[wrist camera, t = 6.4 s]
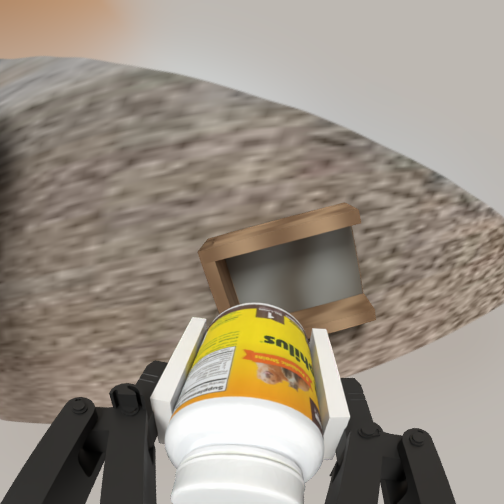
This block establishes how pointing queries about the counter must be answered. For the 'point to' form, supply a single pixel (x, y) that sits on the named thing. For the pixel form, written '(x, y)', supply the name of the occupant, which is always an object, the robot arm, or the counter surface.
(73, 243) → the counter surface
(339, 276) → the walnut u rest
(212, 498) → the supplement bottle
